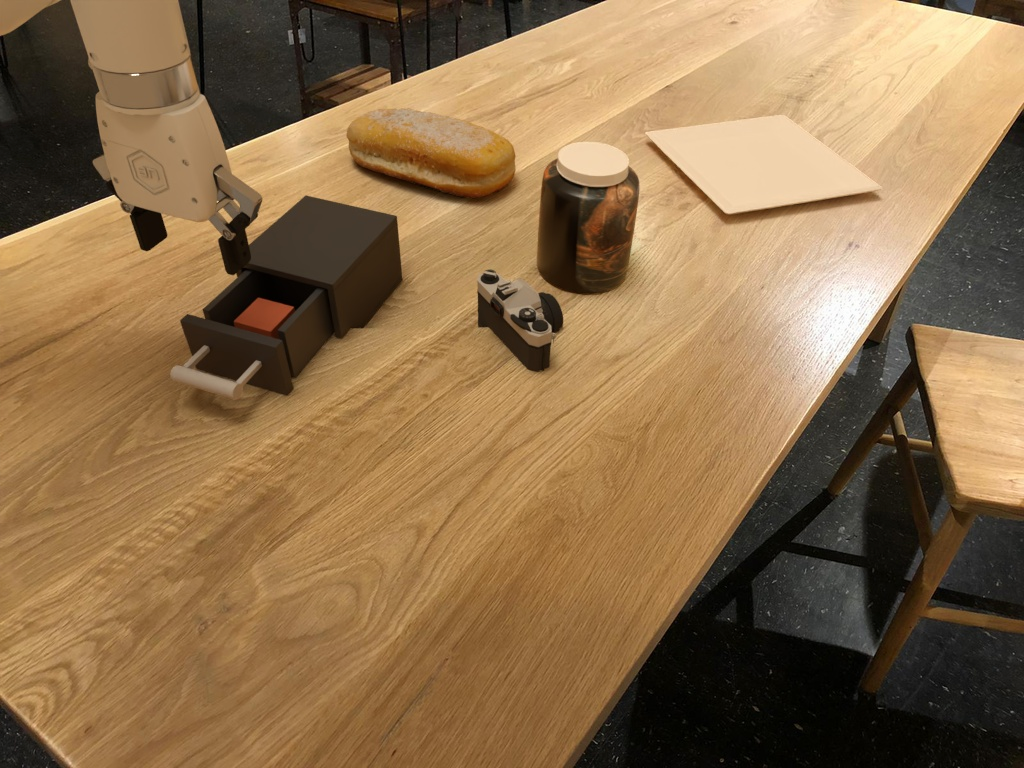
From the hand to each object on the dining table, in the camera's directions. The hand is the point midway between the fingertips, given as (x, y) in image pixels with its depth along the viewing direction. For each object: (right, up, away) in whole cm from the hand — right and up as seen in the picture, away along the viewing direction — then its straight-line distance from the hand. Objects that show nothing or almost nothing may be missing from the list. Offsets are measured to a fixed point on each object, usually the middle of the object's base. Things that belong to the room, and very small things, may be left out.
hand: (196, 255), depth 74 cm
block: (+5, -8, +7) cm, 12 cm away
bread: (+18, +19, +41) cm, 48 cm away
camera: (+32, -8, +12) cm, 35 cm away
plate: (+68, +20, +44) cm, 84 cm away
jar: (+40, +2, +23) cm, 46 cm away
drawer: (+5, -10, +7) cm, 13 cm away
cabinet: (+9, -3, +17) cm, 19 cm away
